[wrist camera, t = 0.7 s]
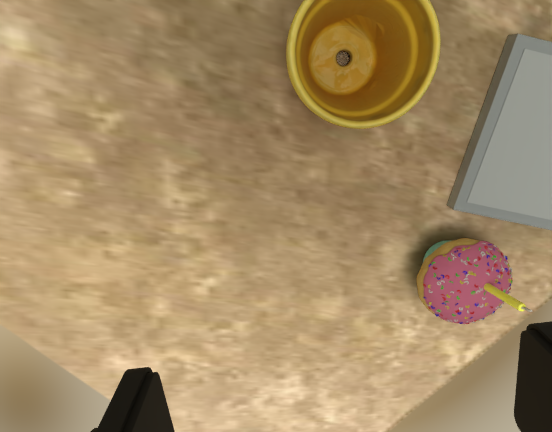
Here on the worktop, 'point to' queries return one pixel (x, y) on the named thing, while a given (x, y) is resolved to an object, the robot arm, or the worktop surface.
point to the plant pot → (362, 58)
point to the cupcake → (465, 280)
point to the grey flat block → (512, 141)
